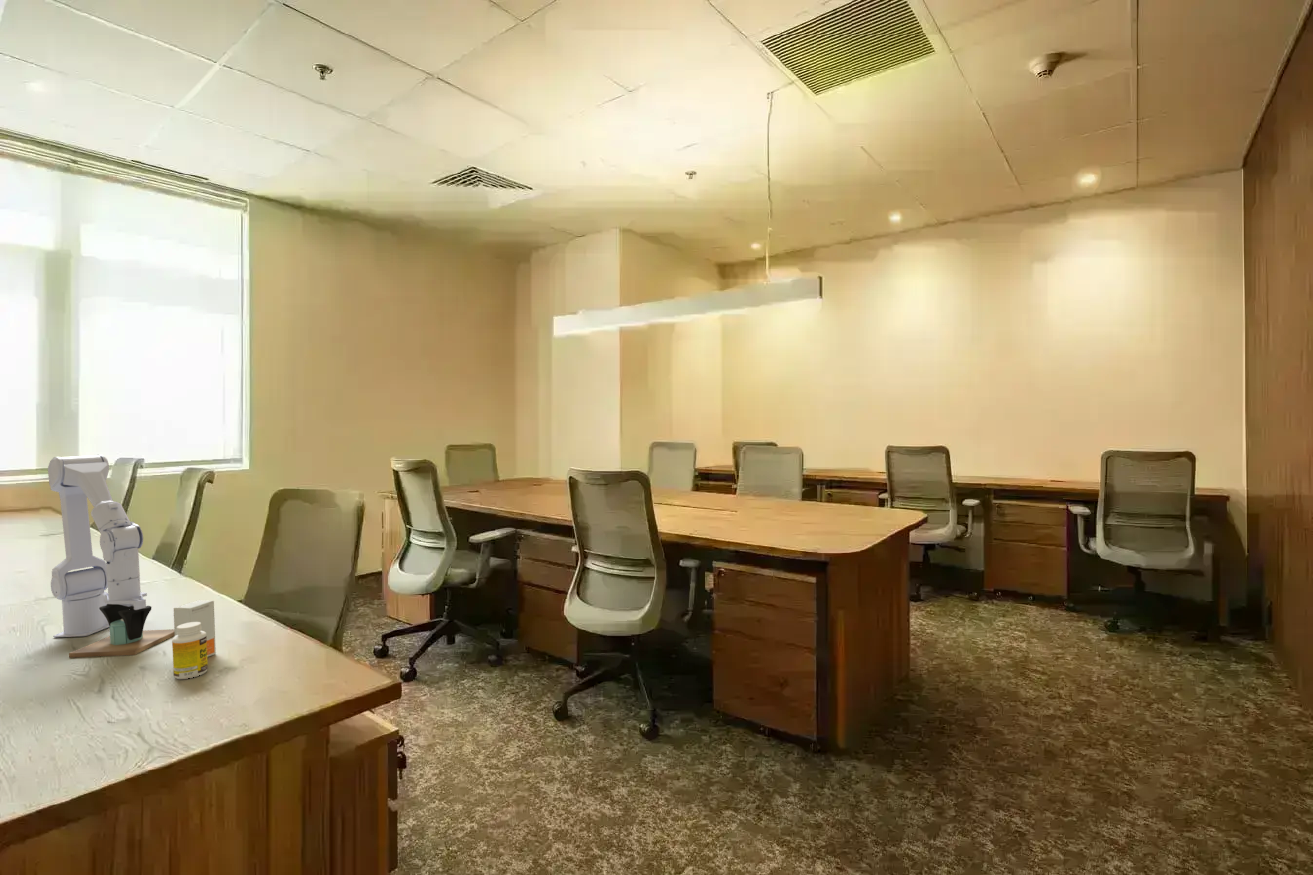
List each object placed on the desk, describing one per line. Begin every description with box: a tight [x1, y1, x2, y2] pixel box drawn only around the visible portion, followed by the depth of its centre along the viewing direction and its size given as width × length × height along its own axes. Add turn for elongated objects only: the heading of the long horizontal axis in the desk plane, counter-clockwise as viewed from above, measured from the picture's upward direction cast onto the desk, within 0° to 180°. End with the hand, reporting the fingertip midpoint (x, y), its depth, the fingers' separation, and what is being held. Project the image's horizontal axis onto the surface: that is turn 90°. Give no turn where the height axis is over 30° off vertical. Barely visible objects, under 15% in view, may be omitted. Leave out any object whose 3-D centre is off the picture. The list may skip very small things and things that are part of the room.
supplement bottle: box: [171, 622, 209, 680], centre depth 126 cm, size 6×6×10 cm
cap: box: [109, 619, 143, 645], centre depth 144 cm, size 5×5×5 cm
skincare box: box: [173, 599, 217, 658], centre depth 134 cm, size 6×4×12 cm
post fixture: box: [68, 628, 175, 659], centre depth 144 cm, size 14×14×4 cm
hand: (127, 636), depth 144 cm, fingers open, 7 cm apart
